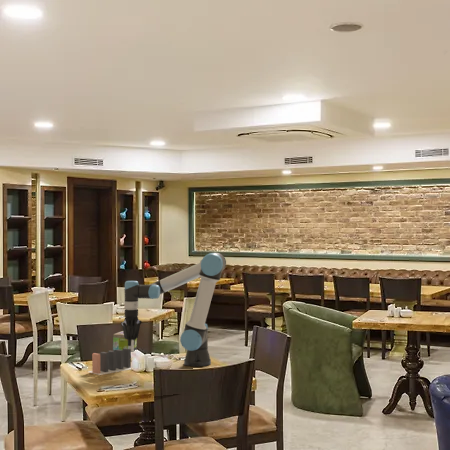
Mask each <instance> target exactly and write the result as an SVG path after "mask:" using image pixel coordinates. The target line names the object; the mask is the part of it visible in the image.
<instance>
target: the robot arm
mask: <svg viewBox="0 0 450 450" xmlns="http://www.w3.org/2000/svg"><path fill="white" fill-rule="evenodd" d="M226 267H227V260H226V258H225V256H224V255H223V254H221V253H220V252H209V253H207V254H206V255H204V256H203V257H202V259H201V260H199V262H198V263H196V264H193V265H192V266H190V267H187V268H185V269H182V270H180V271H178V272H176V273H173V274H171V275H168V276H166V277H164V278H162V279H160V280H158V281H155V282H152V283H150V284H139V281H137V280H126V281H125V282H124V321H123V322H122V321H121V322H120V325H121V327H122V331H123V333H124V338H125V339H127V340H128V346H129V349H131V352H134V345H135V340H136V338H137V339H138V338H139V333H140V328H141V327H140V326H141V324H142V322H143V321H142V320H140V319H139V317H138V316H139V299H150V300H151V299H152V300H154V299H159V298H160V295H162V294H165V293H166V292H169V291H171V290H174V289H176V288H178V287H181V286H182V285H185V284H187V283H190V282H192V281H194V280H197V279H199V278H200V281H199V284H198V288H197V292H196V295H195V299H194V303H193V307H192V309H191V310H192V311H191V313H190V318H189V320H188V321H186V322H185V324H184V330H183V332H182V333H181V335H180V340H179V341H180V344H181V346H182V347H183V348H184V350H186V354H185V358H184V359H183V365H184V366H188V367H205V366H210V365H211V364H212V359H211V357H210V353H209V349H208V347H209V346H208V343H209V342H208V339H209V338H208V335H209V327H208V326H209V325H208V323H206V322H207V317H208V314H209V310H210V306H211V301H212V298H213V295H214V291H215V289H216V284H217V283H218V282H219V281H220V280H221V277H222V272H223V271H224V270H225V268H226Z"/></svg>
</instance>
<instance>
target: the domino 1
mask: <svg viewBox="0 0 450 450" xmlns="http://www.w3.org/2000/svg"><path fill="white" fill-rule="evenodd" d="M91 356H92V357H91V358H92V360H91V363H92V364H91V365H92V367H91V371H92V372H93V373H92V374H94V373H97V374H96V375H98V374H99V373H100V353H96V352H93V353H92V355H91Z"/></svg>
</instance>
